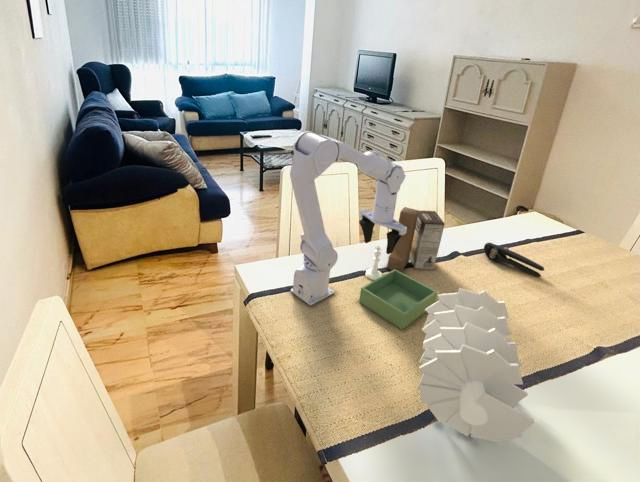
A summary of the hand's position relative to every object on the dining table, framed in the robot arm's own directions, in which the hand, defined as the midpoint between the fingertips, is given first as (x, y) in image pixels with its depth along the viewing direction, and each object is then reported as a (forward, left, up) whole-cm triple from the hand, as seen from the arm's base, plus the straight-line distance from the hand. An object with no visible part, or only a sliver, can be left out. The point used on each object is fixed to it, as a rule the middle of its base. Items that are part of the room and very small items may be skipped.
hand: (378, 247), depth 111 cm
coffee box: (+19, -4, -10) cm, 22 cm away
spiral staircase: (-20, -36, -10) cm, 42 cm away
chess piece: (0, 0, -10) cm, 10 cm away
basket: (-6, -12, -10) cm, 17 cm away
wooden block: (+11, -1, -10) cm, 15 cm away
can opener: (+41, -23, -10) cm, 48 cm away
